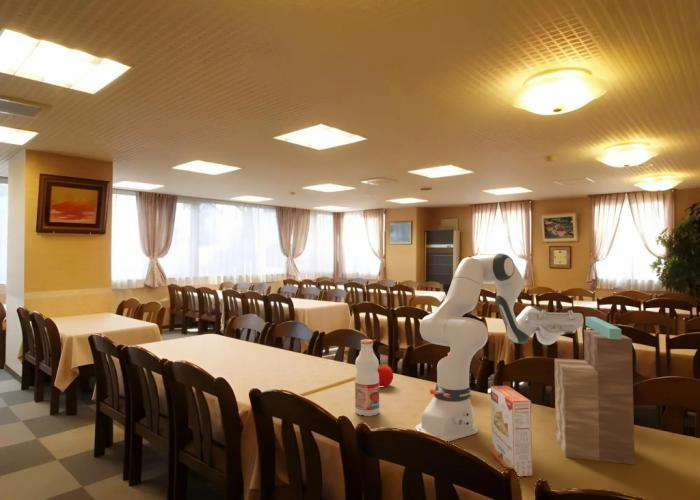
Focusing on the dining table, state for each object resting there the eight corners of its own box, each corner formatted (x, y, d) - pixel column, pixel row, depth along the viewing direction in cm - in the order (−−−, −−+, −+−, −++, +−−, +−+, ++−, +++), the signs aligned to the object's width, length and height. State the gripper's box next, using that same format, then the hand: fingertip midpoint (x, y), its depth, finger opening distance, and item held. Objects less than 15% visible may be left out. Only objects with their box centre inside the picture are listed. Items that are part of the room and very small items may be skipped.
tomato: (363, 385, 197) (363, 363, 197) (380, 380, 205) (379, 359, 205) (382, 391, 188) (381, 368, 189) (398, 386, 196) (398, 364, 197)
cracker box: (490, 454, 128) (489, 385, 128) (509, 453, 128) (508, 384, 129) (512, 478, 114) (511, 400, 114) (533, 477, 114) (532, 400, 115)
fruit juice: (358, 407, 169) (357, 337, 169) (381, 409, 167) (380, 338, 167) (352, 415, 160) (352, 342, 160) (377, 417, 158) (376, 343, 158)
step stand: (555, 436, 140) (553, 328, 141) (616, 442, 135) (614, 330, 136) (565, 456, 126) (563, 336, 126) (634, 464, 121) (631, 339, 122)
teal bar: (585, 325, 147) (585, 316, 147) (595, 325, 146) (595, 316, 146) (609, 338, 122) (609, 328, 122) (621, 339, 121) (621, 329, 121)
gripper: (524, 317, 179) (527, 303, 167) (577, 318, 173) (584, 304, 162) (525, 331, 176) (529, 318, 164) (579, 333, 170) (587, 320, 159)
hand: (557, 311), depth 163 cm, fingers open, 8 cm apart
